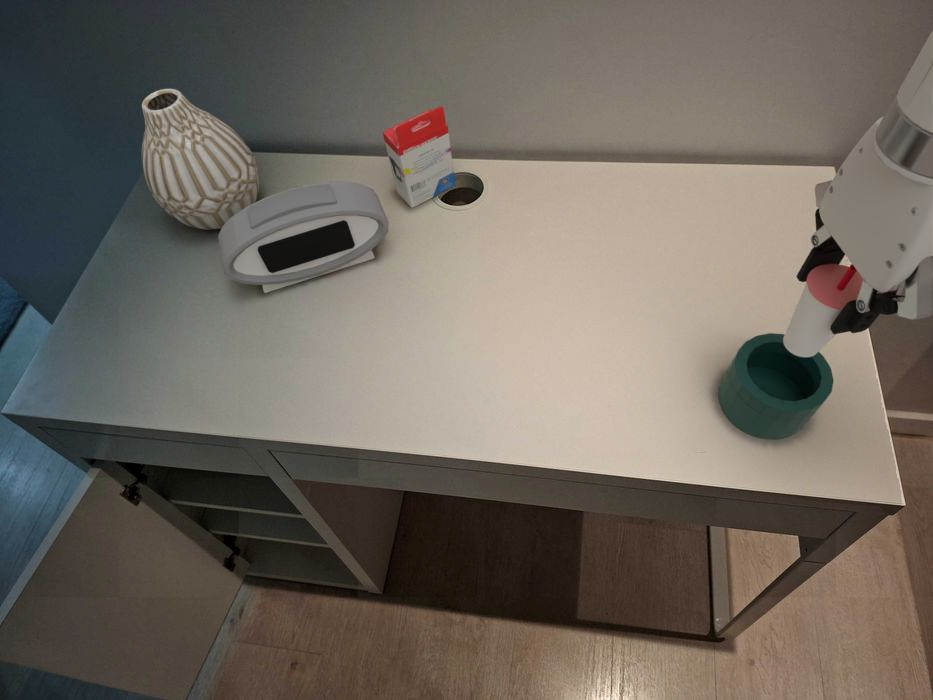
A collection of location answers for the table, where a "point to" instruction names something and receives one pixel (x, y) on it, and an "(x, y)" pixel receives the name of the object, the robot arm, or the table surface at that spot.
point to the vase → (195, 162)
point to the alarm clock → (302, 234)
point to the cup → (820, 307)
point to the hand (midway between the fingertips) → (830, 301)
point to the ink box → (421, 156)
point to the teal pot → (773, 388)
